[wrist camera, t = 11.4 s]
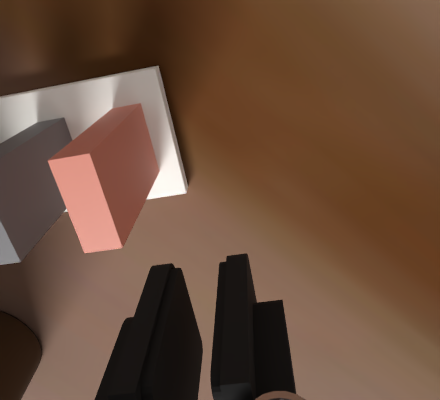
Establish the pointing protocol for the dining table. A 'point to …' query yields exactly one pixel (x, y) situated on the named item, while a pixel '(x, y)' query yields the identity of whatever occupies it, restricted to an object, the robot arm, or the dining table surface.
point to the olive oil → (16, 357)
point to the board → (96, 108)
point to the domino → (29, 187)
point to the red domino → (107, 177)
